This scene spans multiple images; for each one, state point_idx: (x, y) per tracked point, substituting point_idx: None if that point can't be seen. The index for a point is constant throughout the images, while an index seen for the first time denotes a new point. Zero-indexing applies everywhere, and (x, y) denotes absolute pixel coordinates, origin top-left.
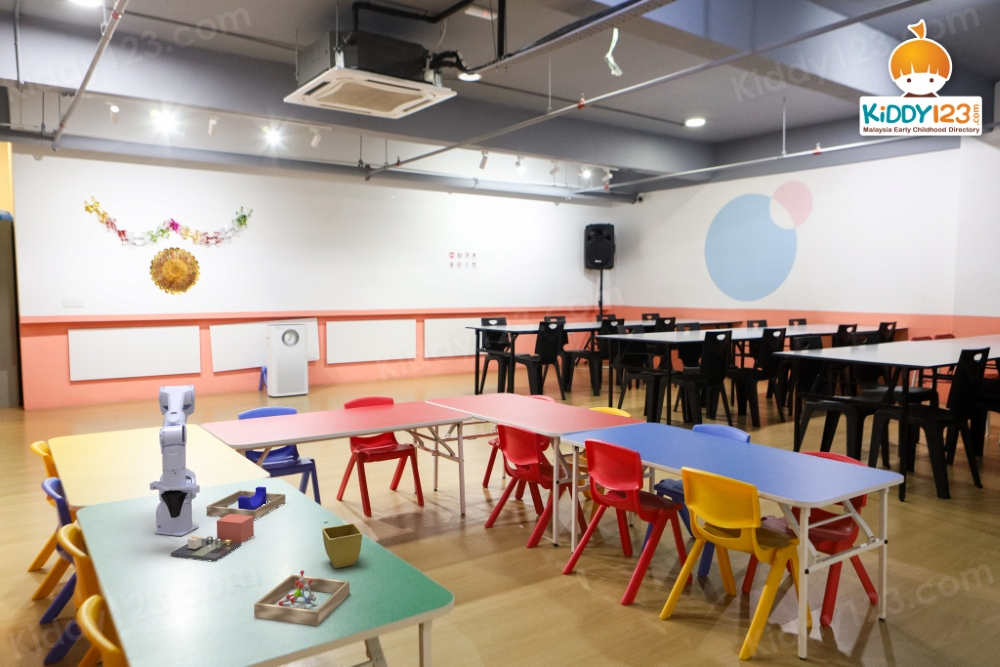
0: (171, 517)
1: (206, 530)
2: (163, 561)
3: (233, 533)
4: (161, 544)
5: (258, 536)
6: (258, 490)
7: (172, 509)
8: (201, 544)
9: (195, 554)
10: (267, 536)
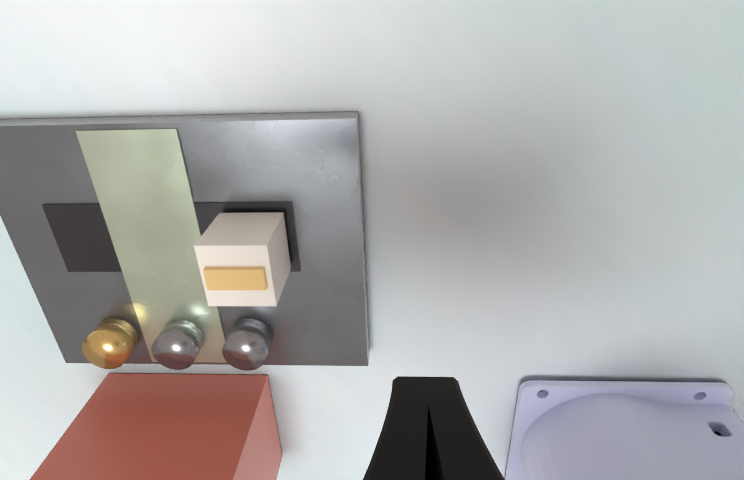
0: (444, 378)
1: None
2: (341, 13)
3: (130, 418)
4: (573, 265)
5: None
6: None
7: (410, 467)
8: None
9: (146, 139)
10: None
